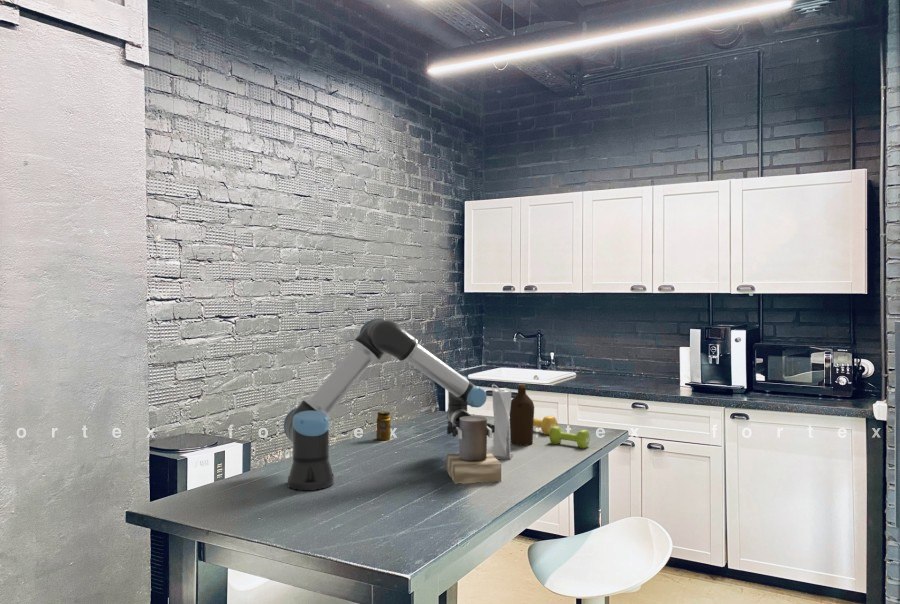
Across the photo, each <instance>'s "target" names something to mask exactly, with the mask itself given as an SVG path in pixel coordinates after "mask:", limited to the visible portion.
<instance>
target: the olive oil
mask: <svg viewBox="0 0 900 604" xmlns="http://www.w3.org/2000/svg"><path fill="white" fill-rule="evenodd" d="M517 386H518V387H517V394H516V395H515V396H513V398H511V408H510V415H509V426H510V444H511V443H512V445H514V446H515V445H516V446H530V445H532V444H533V442H534V441H533V439H534V426H533V422H534V419H535V405H534V402H533V400H532V399H531V398H530V397H529V395H528V394H527V391H526V389H527V388H526V386H527V385H526V384H525V383H518V384H517Z"/></svg>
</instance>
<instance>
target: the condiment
mask: <svg viewBox="0 0 900 604" xmlns="http://www.w3.org/2000/svg"><path fill="white" fill-rule="evenodd" d="M376 417H377V418H376V438H373V439H371V440H369V442H376V443H384V444H385V443H387V442H390V441H392V440H394V439H395V438H393V437H391V434H392V433H391V427H392V426H391V418H390V417H391V413H390V411H385V410H384V411H382V410H381V411H378V412H377V416H376Z"/></svg>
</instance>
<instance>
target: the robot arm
mask: <svg viewBox="0 0 900 604" xmlns="http://www.w3.org/2000/svg"><path fill="white" fill-rule="evenodd" d="M385 354H387V355H389V356H392V357H394V358H396V359H398V360H399V361H400V362H403V361H404V362H407V363H408V364H409V365H410V366H412V367H414V368H415V369H417V370H418V371H419V372H421V373H422V374H424V375H425V376H426V377H428V378H430V380H432V381H434V383H436V384H437V385H439V386H440V387H442V388H443V389H444V390H446V391H447V394H448V396H447V399H448V401H447V403H448V404H447V410H446V415H445V416H446V419H447V426H446V434H447V435H451V434H452V435H451V436H452V437H453V438H454V437H457V438H458V439H462V431H461V429H460V419H459V418H460V417H464V416H472V415H471V414H470V412H468V406H470V407H471V408H480V407H482V406H484V405H485V403H486V401H487V393H486V390H485V389H484V388H482V387H480V386H477V385H475V384H474V383H472V382H471V381H469V380H468V378H467V376H464V375H462V374H460V373H459V372H458V371H456V370H455V369H453V368H452V367H451V366H449V365H448V364H446V363H445V362H444V361H442V360H441V359H440V358H438V357H437V356H436V355H434V354H433V353H431V352H430V351H429V350H427V349H426V348H425V347H423V346H422V345H421V344H419V343H418V339H417V338H416V337H414V336H413V335H412V334H411V333H410V332H408V330H406V329H404V328H403V327H402V326H401V325H399V324H398V323H397V322H395V321H392V320H388V319H386V320H385V319H382V318H373V319H370V320H368V321H366V322H365V323H363V324H362V326H361V328H360V330H359V334H358V335H357V337H356V338H355V339H354V341H353V347H352V349H351V350H350V351H349V352H348V354H347V355H346V356H345V357H344V358H343V360H342V361H341V362H340V363H339V364H338V366H337V367H336V368H335V369H334V370H333V372H331V374H330V375H329V376H328V377H327V379H326V380H325V381H324V382H323V383H322V385H321V386H320V387H319V388H318V389H317V390H316V392H315V393H314V394H312V396H311V397H310V398H307V399H303V400H302V401H301V402H300V404H299V405H298V406H297V407H296V408H293V409H291V410H290V411H288V413H287V414H286V415H285V417H284V420H283V429H284V430H283V431H284V434H285V436H286V437H287V438H288V440H290V441H291V443H292V464H291V468H290V471H289V474H288V477H287V487H288V486H289V487H291V488H293V489H292V490H295V489H298V490H297V491H303V490H310V491H317V490H316V489H319V490H322V489H321V488H324V489H326V487H327V488H329V486H330V487H332V486H333V485H334V483H335V475H334V473H333V470H332V467H331V463H330V459H329V458H330V456H329V453H330V452H329V451H330V450H329V448H330V445H329V443H330V436H329V435H330V432H329V431H330V430H329V429H330V422H329V421H330V413H331V412H332V411H333V409H335V407H337V405H338V404H339V403H340V401H341V400H342V399H343V398H344V397H345V396H346V394H347V393H348V392H349V390H350V389H351V388H352V387H353V385H354V384H355V383H356V382H357V380H359V378H360V377H361V376H362V375H363V373H365V371H366V370H367V369H368V367H370V365H371V364H372V363H375V362H379V361H380V360H381V358H382V357H383V356H384V355H385ZM494 432H495V425H494V424H492V423H489V422H487V438H491V439H492V438H493V433H494ZM331 485H332V486H331ZM289 487H288V488H289ZM291 488H290V489H291Z"/></svg>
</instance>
